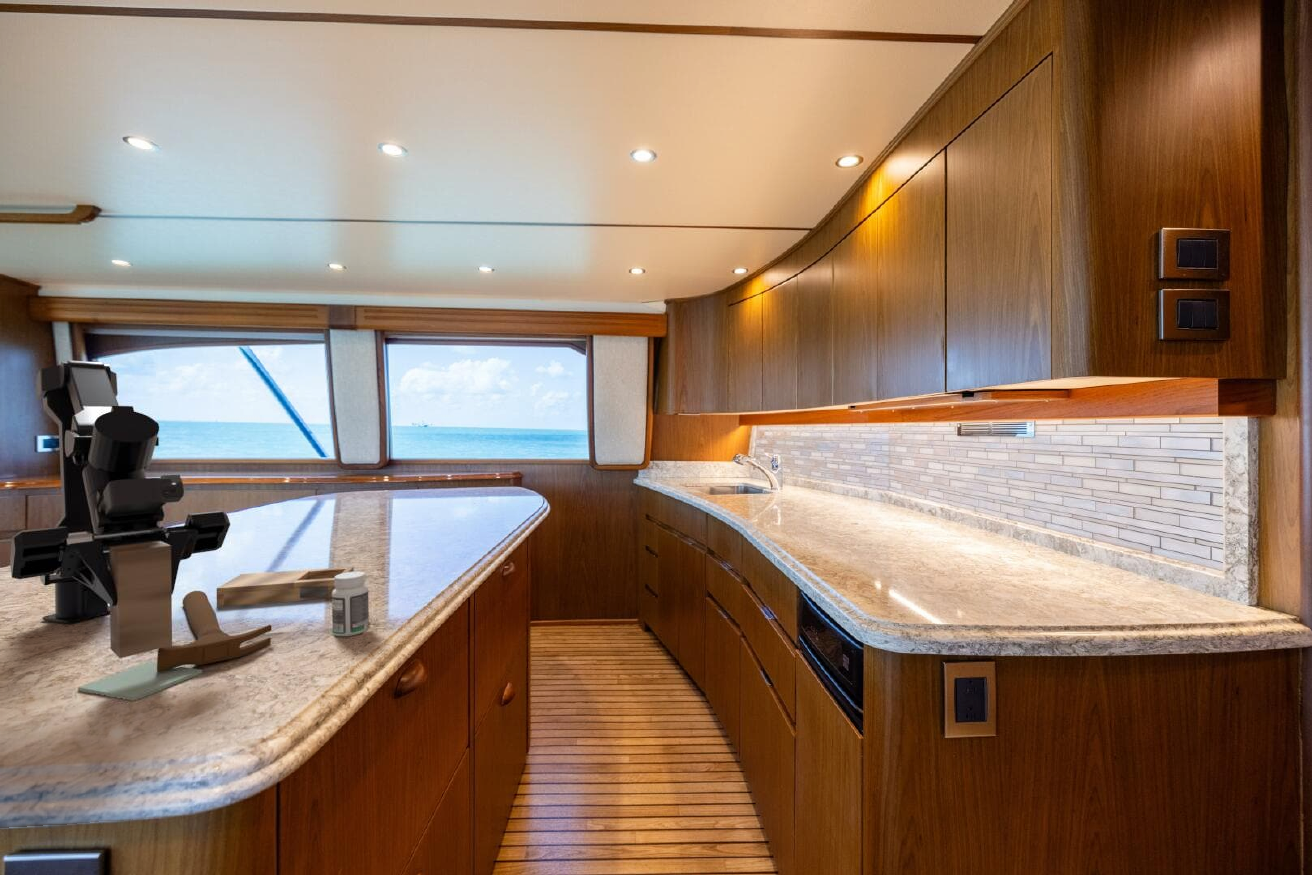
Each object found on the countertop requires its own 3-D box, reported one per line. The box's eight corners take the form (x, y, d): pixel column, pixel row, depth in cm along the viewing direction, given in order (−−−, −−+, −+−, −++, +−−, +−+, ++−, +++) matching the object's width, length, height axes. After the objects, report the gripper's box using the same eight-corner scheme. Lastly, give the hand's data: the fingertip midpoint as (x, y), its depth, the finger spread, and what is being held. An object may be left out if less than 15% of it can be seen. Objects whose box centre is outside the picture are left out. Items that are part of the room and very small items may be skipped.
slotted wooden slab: (215, 613, 87) (215, 589, 87) (241, 596, 96) (241, 574, 96) (340, 603, 92) (340, 580, 92) (353, 587, 101) (353, 566, 101)
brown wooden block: (110, 648, 63) (109, 547, 63) (161, 636, 67) (160, 540, 66) (119, 658, 60) (118, 552, 60) (172, 645, 64) (170, 545, 64)
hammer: (157, 614, 86) (156, 675, 64) (159, 594, 86) (158, 648, 64) (248, 602, 94) (275, 654, 72) (249, 584, 94) (276, 630, 72)
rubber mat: (77, 690, 61) (77, 687, 61) (149, 664, 68) (149, 661, 68) (133, 700, 59) (133, 697, 59) (202, 673, 66) (202, 669, 66)
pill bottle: (372, 624, 82) (371, 569, 82) (364, 635, 78) (363, 577, 78) (337, 627, 81) (337, 571, 81) (327, 638, 77) (327, 580, 76)
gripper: (11, 457, 58) (27, 575, 52) (224, 451, 73) (256, 542, 67) (4, 522, 63) (18, 637, 56) (206, 504, 78) (234, 593, 72)
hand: (143, 598), depth 63 cm, fingers closed on brown wooden block, 4 cm apart
